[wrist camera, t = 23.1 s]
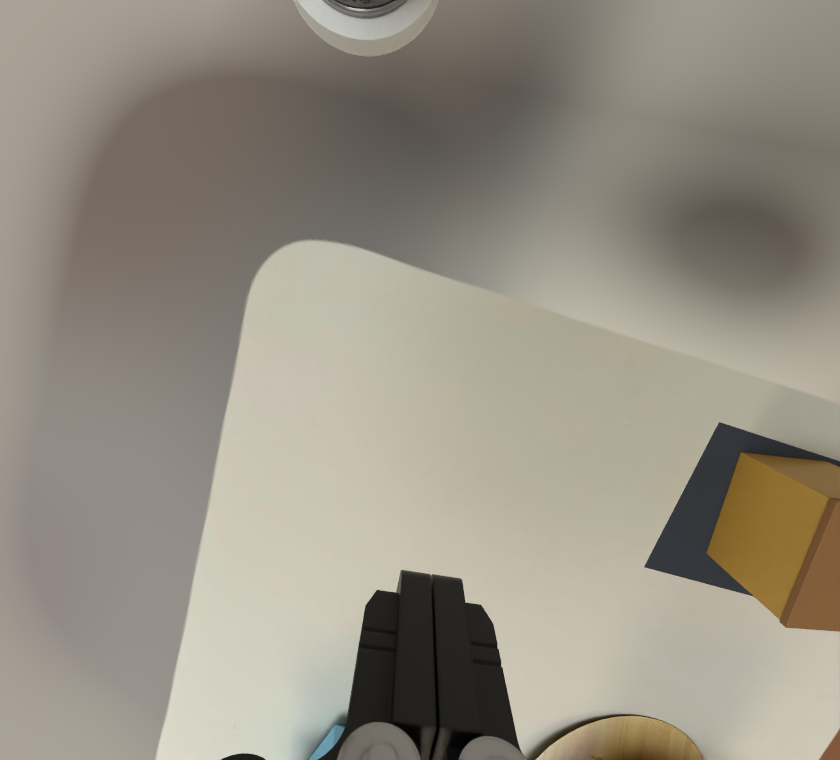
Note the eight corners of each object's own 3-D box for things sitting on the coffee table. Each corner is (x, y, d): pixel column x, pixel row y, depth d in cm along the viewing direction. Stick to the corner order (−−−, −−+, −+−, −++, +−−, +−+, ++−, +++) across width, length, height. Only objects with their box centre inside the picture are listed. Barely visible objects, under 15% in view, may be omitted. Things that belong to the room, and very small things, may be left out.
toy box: (704, 554, 42) (785, 627, 33) (739, 450, 39) (838, 501, 30) (788, 561, 43) (889, 635, 34) (828, 460, 40) (949, 512, 31)
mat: (718, 421, 39) (719, 422, 38) (909, 484, 41) (911, 484, 41) (643, 566, 42) (644, 567, 42) (824, 614, 45) (826, 615, 45)
